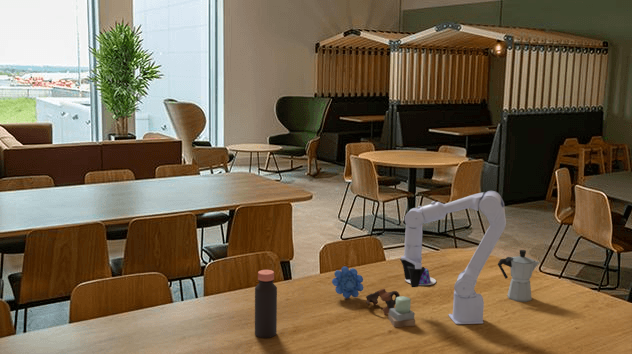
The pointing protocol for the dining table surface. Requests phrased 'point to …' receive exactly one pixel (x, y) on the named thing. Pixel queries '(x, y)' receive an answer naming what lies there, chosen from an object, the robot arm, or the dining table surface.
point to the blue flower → (348, 282)
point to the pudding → (425, 278)
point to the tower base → (401, 322)
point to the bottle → (265, 305)
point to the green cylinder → (402, 304)
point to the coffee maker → (519, 276)
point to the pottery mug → (383, 299)
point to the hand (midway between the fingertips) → (411, 283)
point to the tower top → (401, 315)
